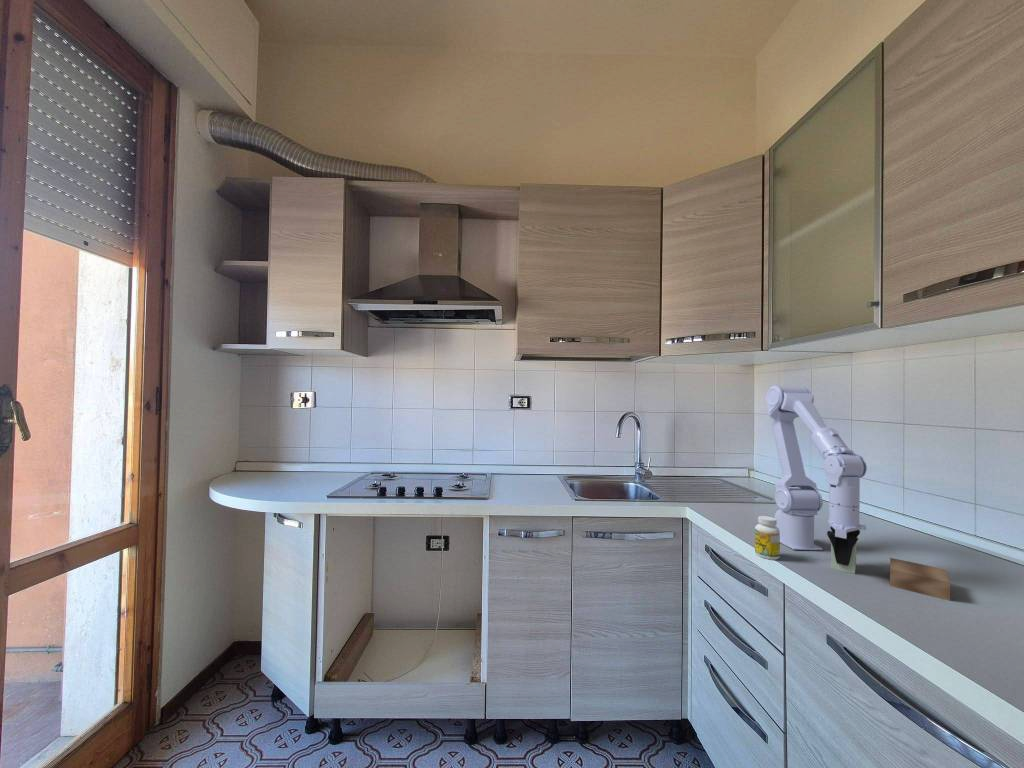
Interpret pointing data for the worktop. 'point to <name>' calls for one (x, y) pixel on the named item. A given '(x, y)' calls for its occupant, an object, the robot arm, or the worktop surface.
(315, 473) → the worktop surface
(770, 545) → the supplement bottle
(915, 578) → the walnut block
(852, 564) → the sage brick
